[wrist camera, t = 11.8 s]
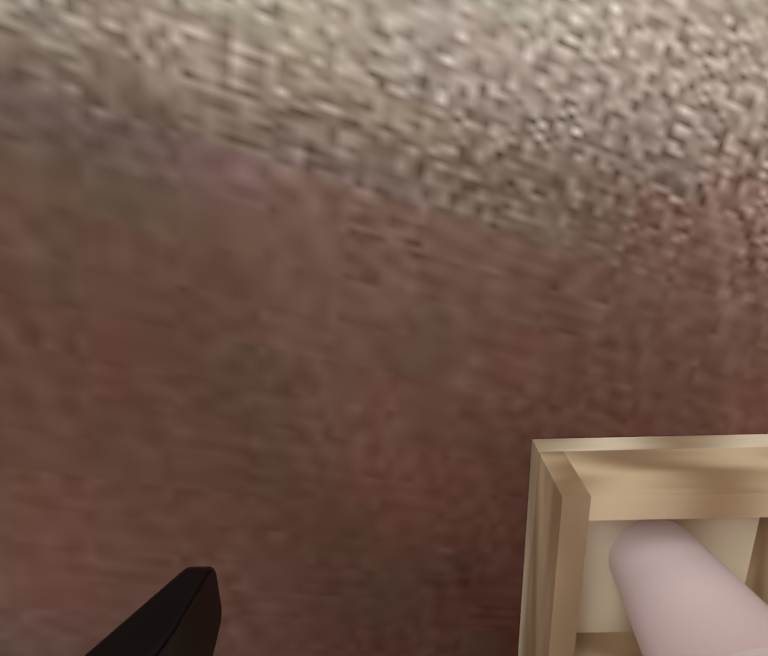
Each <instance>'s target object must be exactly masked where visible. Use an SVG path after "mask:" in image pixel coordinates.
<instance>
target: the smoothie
mask: <svg viewBox="0 0 768 656" xmlns="http://www.w3.org/2000/svg"><path fill="white" fill-rule="evenodd" d="M609 566H610V569H611V572H612V575H613V578H614V580H615V583H616V586H617V588H618V591H619V594H620V596H621V599H622V602H623V605H624V607H625V610H626V613H627V615H628V618H629V621H630V623H631V626H632V629H633V631H634V634H635V637H636V640H637V642H638V645H639V648H640V650H641V653H642V656H768V605H767V604H766V603H765V602H764V601H763V600H761V599H760V598H759V597H758V596H757V595H756V594H755V593H754V592H753V591H752V590H751V589H750V588H749V587H747V586H746V585H745V584H744V583H743V582H742V581H741V580H740V579H739V578H738V577H737V576H736V575H735V574H733V573H732V572H731V571H730V570H729V569H728V568H727V567H726V566H725V565H724V564H723V563H722V562H721V561H720V560H718V559H717V558H716V557H715V556H714V555H713V554H712V553H711V552H710V551H709V550H708V549H707V548H706V547H704V546H703V545H702V544H701V543H700V542H699V541H698V540H697V539H696V538H695V537H694V536H693V535H692V534H690V533H689V532H688V531H687V530H686V529H685V528H684V527H682V526H681V525H679V524H677V523H675V522H672V521H668V520H648V521H643V522H640V523H637V524H635V525H633V526H631V527H629V528H628V529H626V530H625V531H624V532H622V533H621V534H620V535H619V536H618V537H617V539H616V540H615V541H614V543H613V545H612V547H611V549H610V552H609Z"/></svg>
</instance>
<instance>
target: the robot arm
mask: <svg viewBox="0 0 768 656" xmlns="http://www.w3.org/2000/svg"><path fill="white" fill-rule="evenodd" d="M221 613H222V611H221V601H220V595H219V589H218V582H217V576H216V572H215V570H214V568H212V567H209V566H206V567H188V568H186V569H185V570H183V571H182V572H181V573H180V574H178V575H177V576H176V577H175V578H174V579H173V580H172V581H170V582H169V583H168V584H167V585H166V586H165V587H163V588H162V589H161V590H160V591H159V592H158V593H157V594H155V595H154V596H153V597H152V598H151V599H150V600H148V601H147V602H146V603H145V604H144V605H143V606H141V607H140V608H139V609H138V610H137V611H136V612H135V613H133V614H132V615H131V616H130V617H129V618H128V619H126V620H125V621H124V622H123V623H122V624H121V625H120V626H118V627H117V628H116V629H115V630H114V631H113V632H111V633H110V634H109V635H108V636H107V637H106V638H105V639H103V640H102V641H101V642H100V643H99V644H98V645H96V646H95V647H94V648H93V649H92V650H91V651H89V652H88V653H87V654H86V655H85V656H213V653H214V649H215V645H216V640H217V636H218V632H219V627H220V623H221Z"/></svg>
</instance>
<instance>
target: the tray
mask: <svg viewBox="0 0 768 656" xmlns="http://www.w3.org/2000/svg"><path fill="white" fill-rule="evenodd" d="M648 520H668V521H672V522H675V523H677V524H679V525H681V526H682V527H684V528H685V529H686V530H687V531H688V532H689V533H690V534H692V535H693V536H694V537H695V538H696V539H697V540H698V541H699V542H700V543H701V544H702V545H703V546H704V547H706V548H707V549H708V550H709V551H710V552H711V553H712V554H713V555H714V556H715V557H716V558H717V559H718V560H720V561H721V562H722V563H723V564H724V565H725V566H726V567H727V568H728V569H729V570H730V571H731V572H732V573H733V574H735V575H736V576H737V577H738V578H739V579H740V580H741V581H742V582H743V583H744V584H745V585H746V586H747V587H749V588H750V589H751V590H752V591H753V592H754V593H755V594H756V595H757V596H758V597H759V598H760V599H761V600H763V601H764V602H765V603H766V604H767V605H768V434H750V435H705V436H659V437H614V438H568V439H532V449H531V464H530V480H529V495H528V511H527V526H526V541H525V557H524V572H523V587H522V603H521V618H520V633H519V649H518V656H642V653H641V650H640V648H639V645H638V642H637V640H636V637H635V634H634V631H633V629H632V626H631V623H630V621H629V618H628V615H627V613H626V610H625V607H624V605H623V602H622V599H621V596H620V594H619V591H618V588H617V586H616V583H615V580H614V578H613V575H612V572H611V569H610V566H609V552H610V549H611V547H612V545H613V543H614V541H615V540H616V539H617V537H618V536H619V535H620V534H621V533H622V532H624V531H625V530H626V529H628V528H629V527H631V526H633V525H635V524H637V523H640V522H643V521H648Z"/></svg>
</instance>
